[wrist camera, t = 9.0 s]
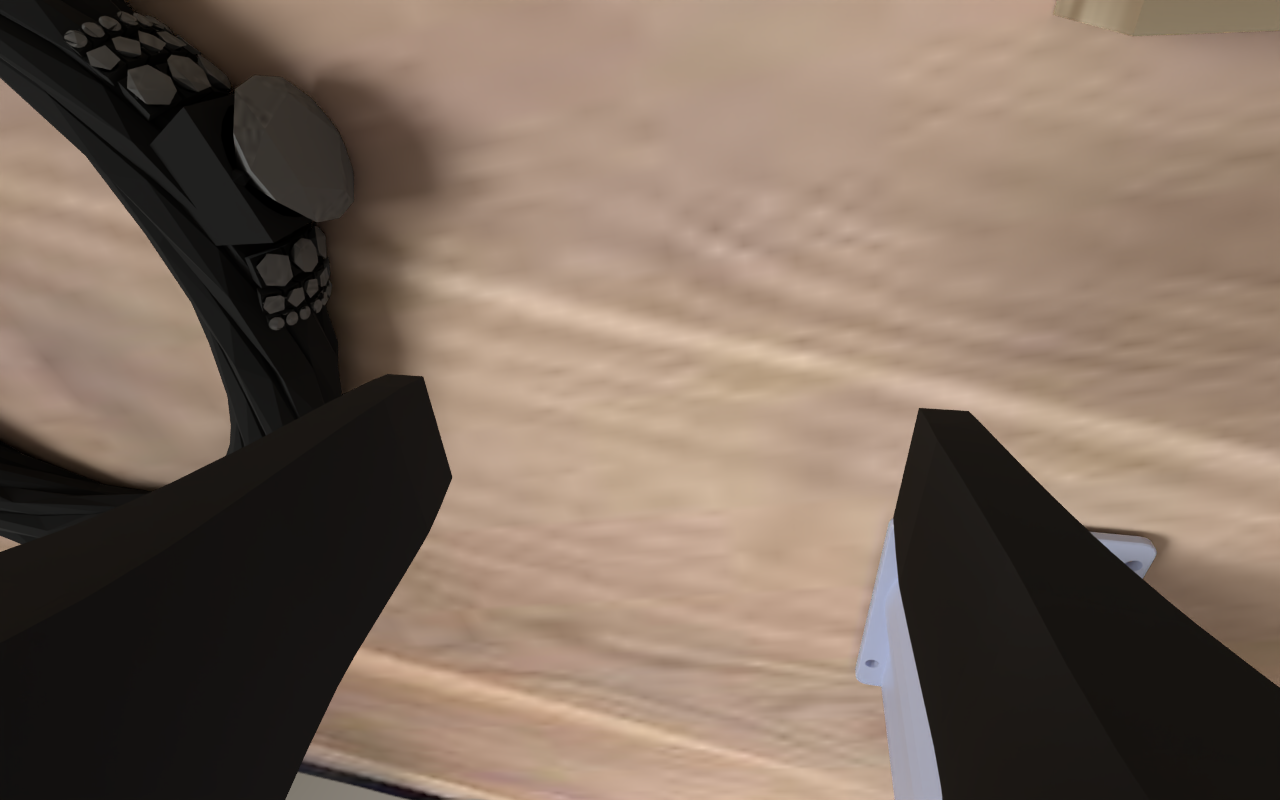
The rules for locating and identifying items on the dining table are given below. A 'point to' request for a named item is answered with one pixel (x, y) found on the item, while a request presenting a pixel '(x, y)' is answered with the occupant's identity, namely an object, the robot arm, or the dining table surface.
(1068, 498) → the dining table surface
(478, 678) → the dining table surface
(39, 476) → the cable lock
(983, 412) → the dining table surface
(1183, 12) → the beige socket block
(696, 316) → the dining table surface
